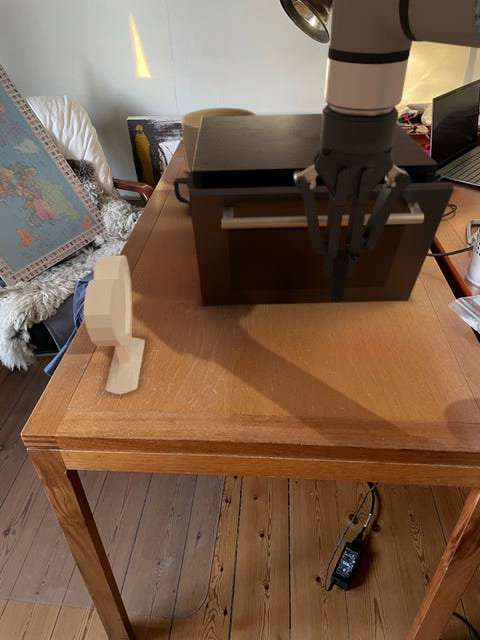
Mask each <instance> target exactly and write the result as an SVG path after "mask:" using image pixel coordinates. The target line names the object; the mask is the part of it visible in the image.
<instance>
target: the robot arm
mask: <svg viewBox="0 0 480 640" xmlns="http://www.w3.org/2000/svg"><path fill="white" fill-rule="evenodd" d="M330 23H331V24H330V40H329V45H328V52H327V63H326V71H325V72H326V73H325V83H324V94H323V100H324V101H325V102H326V106H324V108H322V113H321V114H322V125H321V136H320V146H319V150H318V153H317V154H316V156H315V158H314V161H313V165H312V166H310V167H308V168H307V169H305V170H304V171H300V170H298V171H295V172H294V174H293V178H294V182H295V185H296V188H297V189H298V191H299V192H300V194H301V195H302V198H303V203H304V208H305V214H306V219H307V224H308V230H309V235H310V241H311V244H312V248H313V251H314V253H315V254H320V253H321V254H324V261H323V272H324V275H325V278H329V284H328V293H329V297H330V300H331V302H338V303H344V302H343V295H344V289H345V282H346V277H353V275H354V273H355V267H356V261H357V260H358V259H359V258H360V255H359V254H360V253H363V252H368V253H370V252H372V251H373V250H374V249H375V247H376V244H377V242H378V240H379V238H380V236H381V234H382V231H383V229H384V227H385V225H386V223H387V220H388V218H389V216H390V214H391V212H392V210H393V207H394V205H395V203H396V201H397V199H398V197H399V195H400V194H401V193H402V192H403V191H404V190H405V189H406V187H407V186H408V185H409V184H410V183H411V178H410V176H409V175H408V174H407V173H406V171H405V170H404V169H403V168H398V167H396V166H395V165H394V159H393V156H392V146H393V141H394V136H395V130H396V125H397V124H398V119H399V111H398V109H397V108H396V107H397V106H398V105H399V104H400V103H401V102H402V100H403V93H404V88H405V81H406V75H407V70H408V65H409V58H410V54H411V48H412V44H413V42H417V43H422V42H424V43H425V42H427V43H435V44H441V45H442V44H443V45H449V46H450V45H451V46H458V47H466V48H473V49H474V48H476V49H480V0H332V5H331V22H330ZM318 175H319V177H320V178H321V180H322V181H323V183H324V184H325V186H326V187H327V189H328V190H329V196H330V199H329V208H328V217H327V226H326V235H325V240H323V239H322V238H321V232H320V226H319V220H318V215H317V209H316V203H315V198H314V194H313V191H312V189H314V188H315V187H316V177H317V176H318ZM385 176H386V177H385ZM384 177H385V179H384V182H385V184H384V185H383V187H382V189H381V191H380V194H379V196H378V198H377V201H376V203H375V205H374V208H373V210H372V212H371V215H370V217H369V219H368V221H367V224H366V226H365V228H364V231H363V225H364V219H365V213H366V207H367V205H368V203H369V197H370V192H371V191H372V190H373V189H374V188H375V187H376V186H377V185H378V184H379V182H380V181H381V180H382V179H383V178H384ZM350 195H351V196H352V198H351V205H350V212H349V220H348V227H347V234H346V241H345V246H346V249H345V248H338V247H339V239H340V232H341V224H342V217H343V210H344V206H345V203H346V196H350ZM362 231H363V233H362Z"/></svg>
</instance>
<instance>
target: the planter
mask: <svg viewBox="0 0 480 640" xmlns="http://www.w3.org/2000/svg"><path fill="white" fill-rule="evenodd" d="M222 116H258V115H257V114H256V113H255V112H253V111H251V110H248V109H245V108H244V109H243V108H235V107H211V108H204V109H199V110H195V111H191V112H188V113H186V114H185V115H183V116H182V117H181V119H180V120H181V129H182V130H181V132H182V140H183V139H184V145H185V151H186V157H187V162H188V167H189V171H190V170H191V169H192V168H193V162H194V157H195V151H196V146H197V141H198V135H199V130H200V124H201V119H202V117H222Z"/></svg>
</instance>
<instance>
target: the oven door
mask: <svg viewBox="0 0 480 640" xmlns="http://www.w3.org/2000/svg"><path fill="white" fill-rule="evenodd" d="M383 185H384V184H378V185H377V186H376V187H375V188H374V189H373V190H372V191H371V192H370V197H369V203H368V205H367V207H366V213H365V219H364V225H363V231H364V228H365V226H366V224H367V221H368V219H369V217H370V215H371V212H372V210H373V208H374V205H375V203H376V201H377V198H378V196H379V194H380V191H381V189H382V187H383ZM454 190H455V187H454V185H453V183H452V182H451V181H450V182H444V181H443V182H434V183H410V184H409V185H408V186H407V187H406V189H405V190H404V191H403V192H402V193H401V194H400V195H399V197H398V199H397V201H396V203H395V205H394V207H393V210H392V212H391V214H390V216H389V218H388V220H387V223H386V225H385V227H384V229H383V231H382V234H381V236H380V238H379V240H378V242H377V244H376V247H375V249H374V250H373V251H372V252H370V253H368V252H363V253H360V254H359V255H360V258H359V259H358V260H357V261H356V267H355V273H354V275H353V277H346V282H345V289H344V295H343V302H342V303H367V302H369V303H372V302H373V303H374V302H407V301H409V300H410V297H411V295H412V293H413V291H414V288H415V285H416V283H417V281H418V278H419V275H420V273H421V271H422V269H423V266H424V263H425V261H426V259H427V257H428V253H429V252H430V249H431V246H432V244H433V241H434V239H435V237H436V234H437V231H438V229H439V228H440V227H439V226H440V224H441V222H442V219H443V217H444V215H445V212H446V210H447V207H448V204H449V203H450V200H451V198H452V195H453V192H454ZM312 191H313V194H314V198H315V203H316V209H317V215H318V220H319V226H320V232H321V238H322V239H323V240H325V235H326V226H327V217H328V208H329V199H330V196H329V190H328V189H327V187H326V186H316V187H315V188H314V189H312ZM188 198H189V200H188V201H190V208H191V216H190V217H191V222H192V230H193V239H194V247H195V254H196V263H197V270H198V278H199V286H200V294H201V302H202V303H201V304H202V307H219V306H220V307H223V306H256V305H257V306H258V305H260V306H261V305H291V304H292V305H294V304H296V305H297V304H330V303H331V304H336V303H337V304H338V303H339V302H331V300H330V297H329V293H328V284H329V278H325V275H324V272H323V261H324V254H321V253H320V254H315V253H314V251H313V248H312V244H311V241H310V235H309V230H308V224H307V219H306V214H305V208H304V203H303V198H302V195H301V194H300V192H299V191H298V189H297V188H296V187H262V188H225V189H190V190H189V189H188ZM351 198H352V196H351V195H350V196H346V203H345V206H344V210H343V217H342V224H341V232H340V239H339V247H338V248H345V249H346V246H345V241H346V234H347V227H348V220H349V212H350V205H351ZM363 231H362V233H363Z"/></svg>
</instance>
